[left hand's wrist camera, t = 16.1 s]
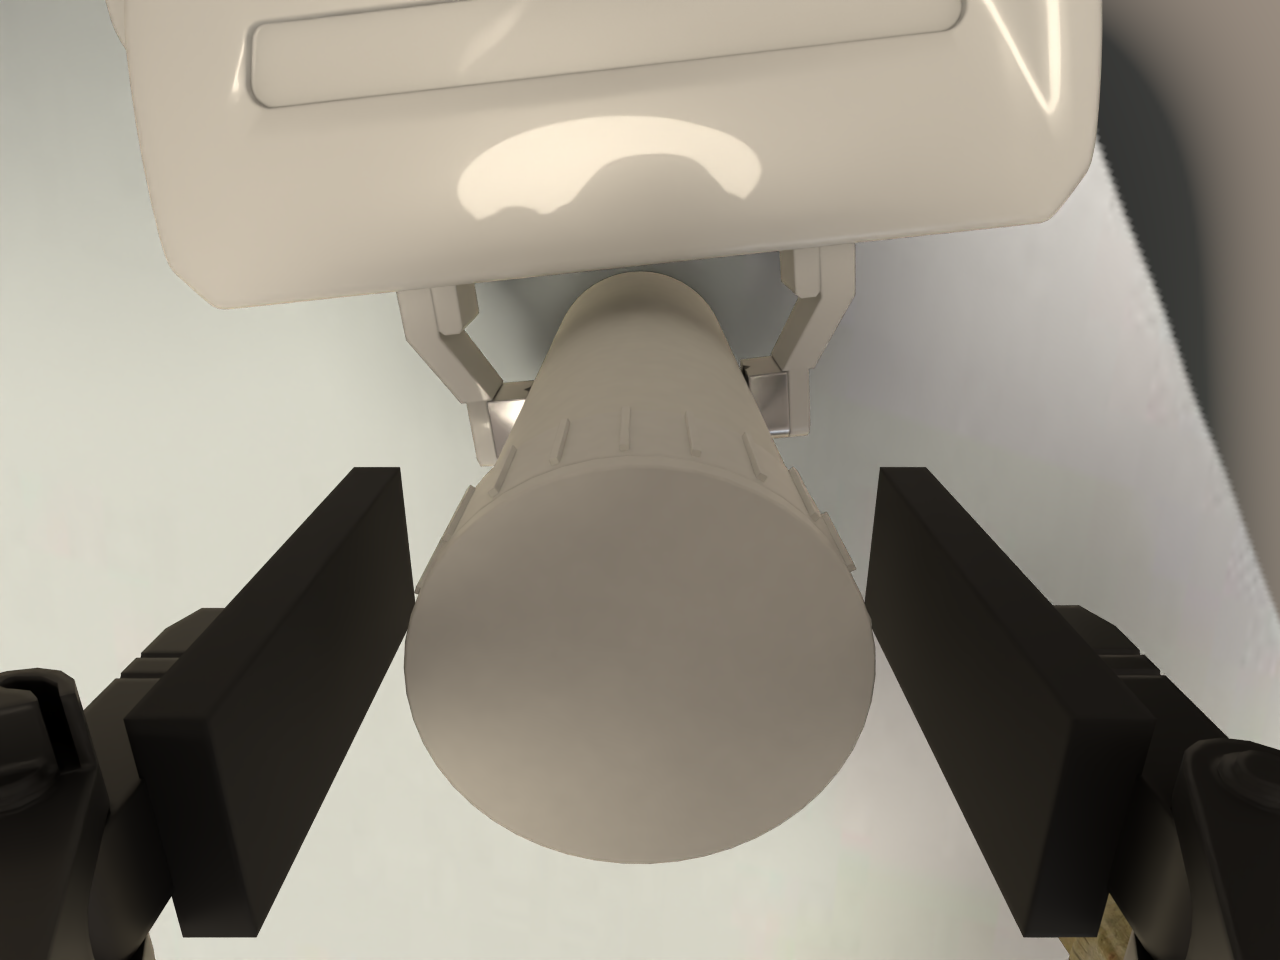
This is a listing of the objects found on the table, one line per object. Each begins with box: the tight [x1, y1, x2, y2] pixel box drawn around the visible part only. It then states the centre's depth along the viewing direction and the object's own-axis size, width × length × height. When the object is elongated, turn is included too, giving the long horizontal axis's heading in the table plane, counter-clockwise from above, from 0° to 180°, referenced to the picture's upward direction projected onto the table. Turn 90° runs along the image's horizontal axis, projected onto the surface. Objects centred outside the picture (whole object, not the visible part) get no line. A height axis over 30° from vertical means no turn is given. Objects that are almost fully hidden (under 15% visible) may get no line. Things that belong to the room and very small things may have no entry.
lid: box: [404, 406, 876, 864], centre depth 11 cm, size 6×6×2 cm
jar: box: [495, 271, 786, 467], centre depth 19 cm, size 6×6×17 cm
